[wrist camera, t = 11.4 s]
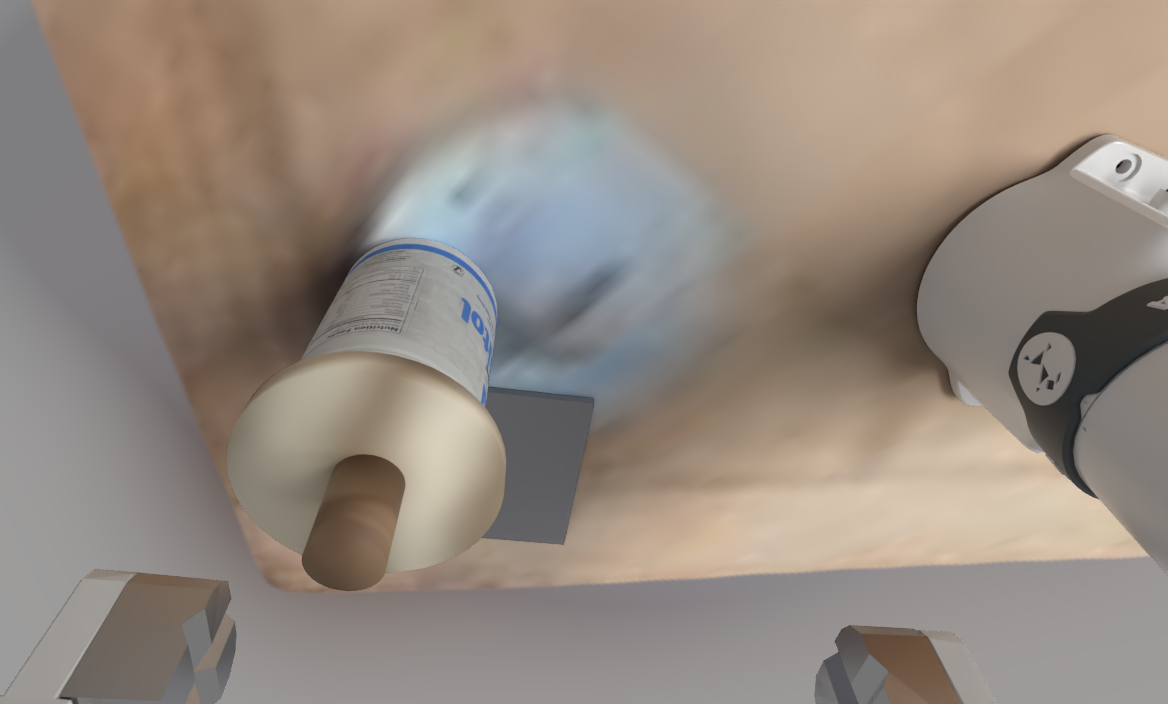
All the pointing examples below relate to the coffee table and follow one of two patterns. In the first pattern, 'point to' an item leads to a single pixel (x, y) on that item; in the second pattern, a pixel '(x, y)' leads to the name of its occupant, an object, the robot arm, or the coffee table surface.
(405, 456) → the lid
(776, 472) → the coffee table surface
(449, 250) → the supplement tub
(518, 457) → the mat
